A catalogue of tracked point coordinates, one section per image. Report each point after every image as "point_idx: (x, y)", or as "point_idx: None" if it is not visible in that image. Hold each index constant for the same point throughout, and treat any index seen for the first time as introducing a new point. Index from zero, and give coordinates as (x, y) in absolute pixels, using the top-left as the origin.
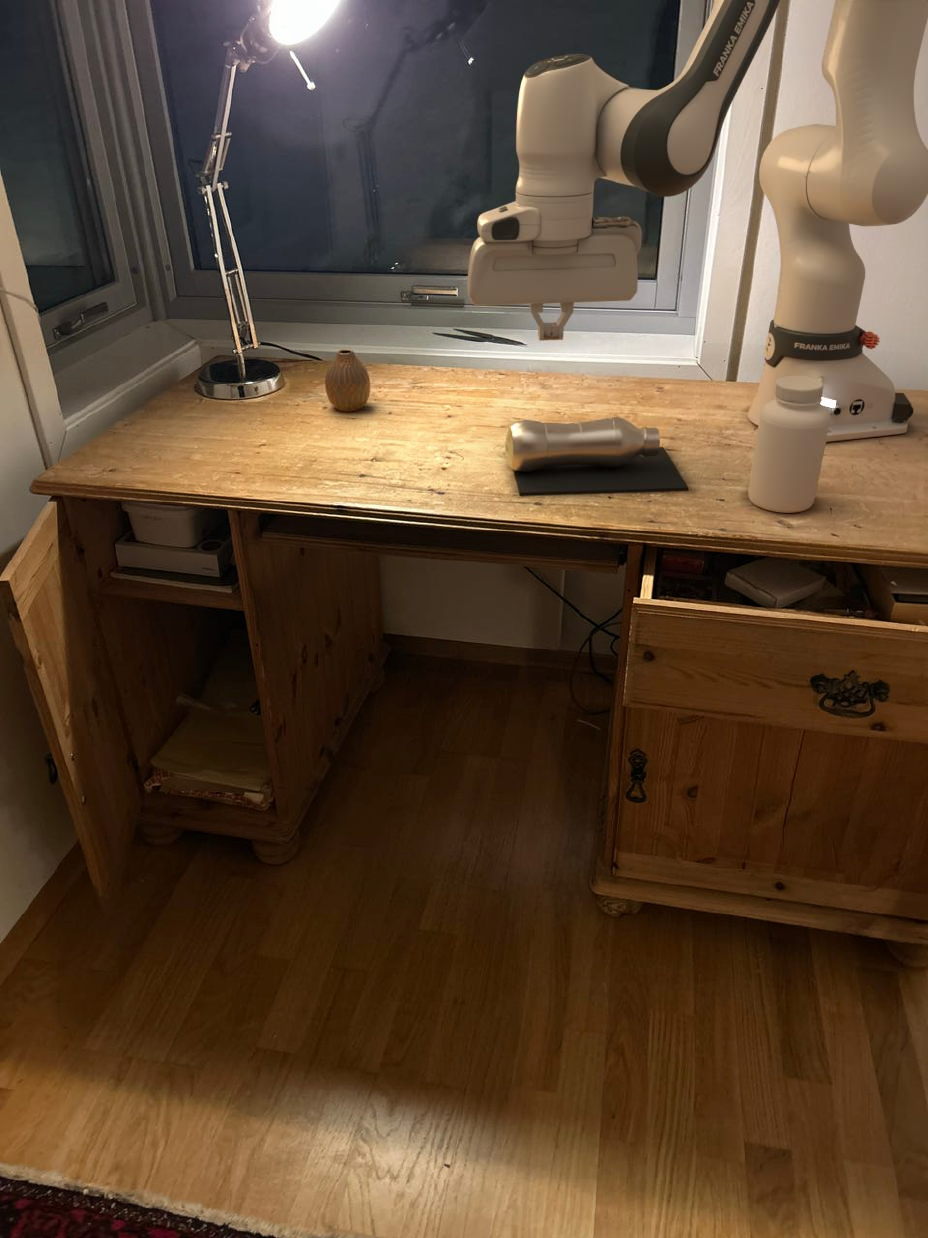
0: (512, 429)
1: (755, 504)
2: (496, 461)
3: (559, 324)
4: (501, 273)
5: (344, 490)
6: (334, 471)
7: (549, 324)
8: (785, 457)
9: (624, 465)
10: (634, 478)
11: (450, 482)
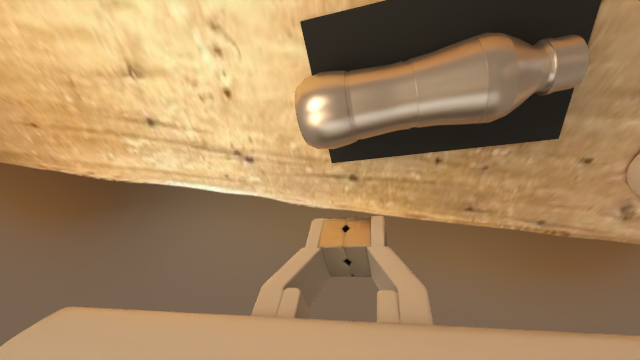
0: (304, 136)
1: (626, 177)
2: (287, 57)
3: (375, 283)
4: None
5: (157, 158)
6: (115, 112)
7: (343, 259)
8: None
9: None
10: None
11: (249, 132)
